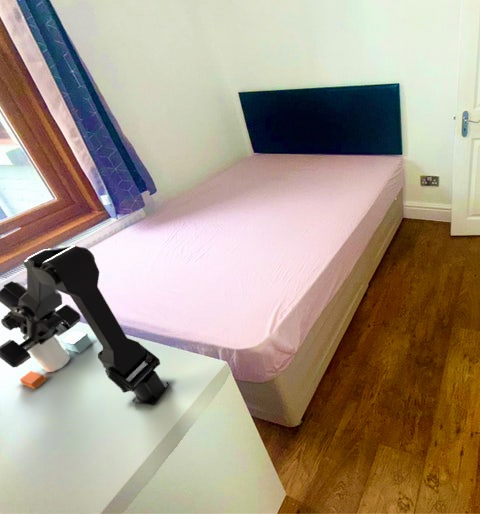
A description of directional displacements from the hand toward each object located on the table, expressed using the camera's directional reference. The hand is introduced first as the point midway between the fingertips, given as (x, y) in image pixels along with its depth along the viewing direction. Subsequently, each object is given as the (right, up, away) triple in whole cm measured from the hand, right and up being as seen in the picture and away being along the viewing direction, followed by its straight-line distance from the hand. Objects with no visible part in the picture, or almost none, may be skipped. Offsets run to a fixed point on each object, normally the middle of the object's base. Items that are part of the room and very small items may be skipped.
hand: (41, 346), depth 101 cm
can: (+3, -6, +3) cm, 7 cm away
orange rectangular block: (0, -9, -2) cm, 10 cm away
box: (+5, -2, +8) cm, 10 cm away
